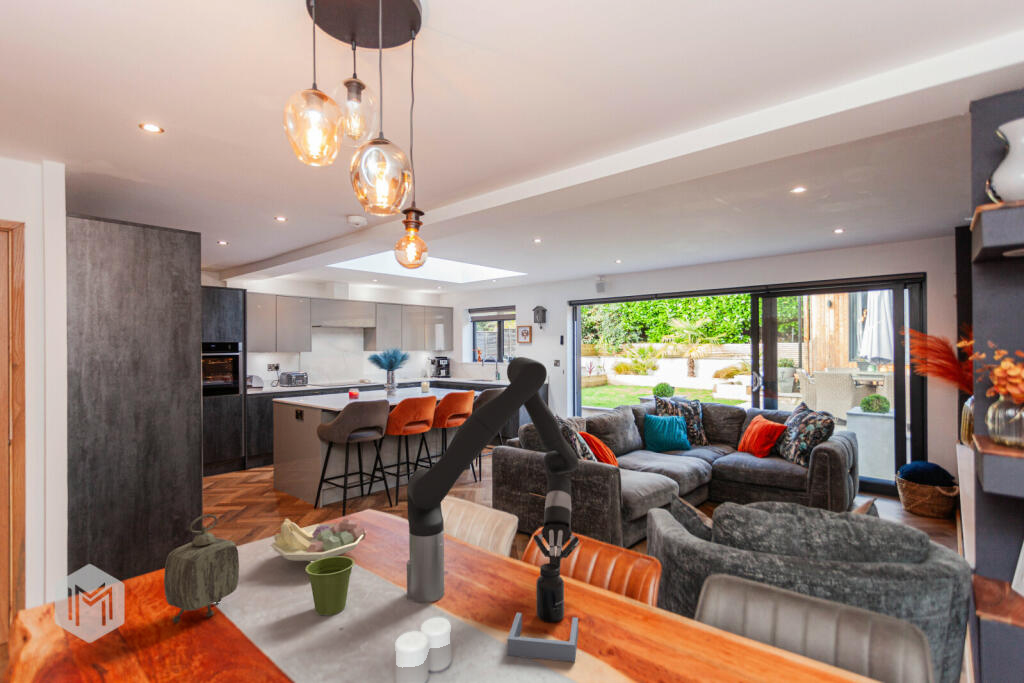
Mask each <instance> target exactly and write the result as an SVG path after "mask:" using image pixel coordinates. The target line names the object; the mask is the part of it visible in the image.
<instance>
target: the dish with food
mask: <svg viewBox="0 0 1024 683" xmlns="http://www.w3.org/2000/svg"><path fill="white" fill-rule="evenodd" d="M367 532H368V531H366V530H365V528H364V527H362V526H358V525H357V522H356V521H355V520H354V519H345V518H344V519H342V521H340V522H338V523H317V524H312V525H309V526H305V527H300V526H299V525H297V523H295V522H294V521H293V522H292V521H291V520H290V519H289V518H285V519H284V521H283V522H282V523H281V525H280V533H279V532H276V534H275V535H274V538H273V539H274V541H273V543H272V544H271V545H270V546H271V548H272V549H273V550H274V552H276V553H278V555H280V556H282V557H283V558H285V559H286V560H288V561H295V562H299V561H300V562H301V561H303V562H305V561H306V562H309V561H316V560H319V559H322V558H327V557H335V556H342V555H344V554H346V553H347V554H348V553H349V552H352V551H354V550H355V549H356V547H357V546H358V545H359V544H360V542H362V541H364V540H365V539H366V534H367Z"/></svg>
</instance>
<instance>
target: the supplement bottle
mask: <svg viewBox="0 0 1024 683" xmlns="http://www.w3.org/2000/svg"><path fill="white" fill-rule="evenodd" d="M539 568H540V569H539V570H540V572H539V574H540V575H539V576H538V577H537V579H536V584H535V585H536V587H535V588H536V589H535V590H536V592H535V594H536V597H535V598H536V599H535V600H536V604H535V605H536V616H537V618H538V619H539V620H540V621H543V622H545V623H557V622H559V621H561V620H563V618H564V616H565V581H564V579H563V577H561V576H560V575H561V566H560V567H559V566H558V565H556V564H552V563H548V562H547V563H544V564H541V565H540V567H539Z"/></svg>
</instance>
